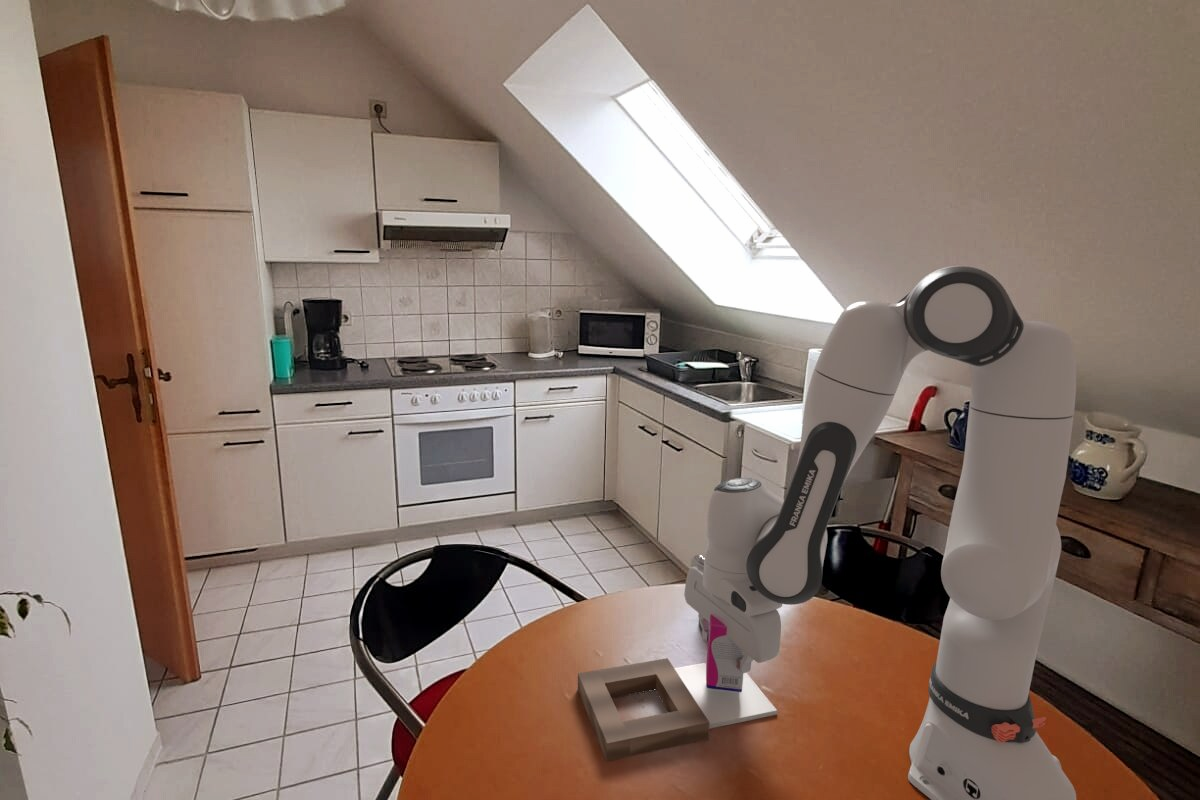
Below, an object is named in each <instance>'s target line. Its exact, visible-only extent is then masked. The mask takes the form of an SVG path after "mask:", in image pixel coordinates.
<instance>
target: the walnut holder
mask: <svg viewBox="0 0 1200 800" xmlns="http://www.w3.org/2000/svg"><path fill="white" fill-rule="evenodd" d="M674 668H675V667H674V666H673V664H672V663H671V661H670V660H669V658H668V657H667V658H661V659H655V660H649V661H642V662H638V663H632V664H627V665H626V664H625V665H619V666H614V667H608V668H601V669H597V670H590V671H584V672H578V673H577V691H578V694H579V697H580V698H581V701H582V703H583V707H584V708H585V711H586V713H587V716H588V719H589V720H590V723H591V726H592V729H593V730H594V734H595V736H596V738H597V741H598V744H599V746H600V749H601V751H602V754H603V757H604V759H605V760H606V762H610V761H614V760H619V759H624V758H627V757H628V758H629V757H633V756H637V755H641V754H646V753H647V754H648V753H652V752H657V751H662V750H666V749H671V748H674V747H675V748H676V747H680V746H684V745H688V744H693V743H699V742H703V741H708V740H709V735H710V734H709V732H710V729H709V721H708V719H707V718H706V716H705V715H704V713H703V712H702V710H701V709H700V707H699V706H698V704H697V702H696V701H695V699H694V698H693V696H692V695H691V693H690V692H689V690H688V689H687V687H686V686H685V684H684V683H683V681H682V680H681V678H680V676H679V675H678V673H677V672H676V670H675V669H674ZM654 689H656V690H654ZM649 690H652V691H655V692H656V691H657V692H656V694H657V696H658V697H659V696H660V697H659V699H660V698H661V699H660V700H661V702H662V704H663V706H664V705H665V706H664V707H665V709H666V710H667V712H666V713H660V714H655V715H650V716H645V717H639V718H634V719H629V720H625V721H623V719H622V717H621V715H620V713H619V711H618V709H617V707H616V705H615V702H614V700H613V699H614V698H618V697H624V696H630V695H629V694H631V695H635V693H636V694H640V693H639V692H642V693H646V692H645V691H647V692H650V691H649ZM643 691H644V692H643Z"/></svg>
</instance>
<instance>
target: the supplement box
mask: <svg viewBox="0 0 1200 800" xmlns="http://www.w3.org/2000/svg"><path fill="white" fill-rule="evenodd" d="M726 633H727V627H726V625H724V624H723V623H722V622H721V621H719V620H718V619H717V618H716V617H714V616H713V615H712V614H711V615H710V622H709V633H708V642H707V649H706V651H707V652H706V662H705V663H706V686H707V688H711V689H719V690H728V691H736V692H742V685H743V673H742V672H741V671H739V670H738V669H737V668H736V665H737V663H736V661H737V659H738V658H742V657H743V656H744V655H743V654H742V653H741V652H742V649H740V648H739V647H738V646H737V645H736V644H735V643H733V642H732V641H731V640H730V639H729V638H728V637H727V634H726Z"/></svg>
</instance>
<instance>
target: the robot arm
mask: <svg viewBox="0 0 1200 800" xmlns="http://www.w3.org/2000/svg"><path fill="white" fill-rule="evenodd" d="M1074 350H1075V349H1074V344H1073V340H1072V338H1071V336H1070V335H1069V334H1068V333H1067V332H1066V331H1065V330H1063V329H1062V328H1060V327H1058V326H1056V325H1053V324H1051V323H1048V322H1045V321H1038V320H1027V319H1025V320H1024V319H1022V318H1021V316H1020V314H1019V312H1018V311H1017V309H1016V308H1015V306H1014V304H1013V302H1012V300H1011V298H1010V296H1009V294H1008V292H1007V291H1006V289H1005V287H1004V286H1003V285H1002V284H1001V282H999V280H997V278H995V277H994V276H993V275H992V274H990V273H988V272H986V270H982V269H980V268H976V267H974V266H973V267H972V266H969V265H951V266H950V265H949V266H945V267H942V268H939V269H936V270H934V271H932V272H930V273H929V274H927V275H926V276H925V277H923V278H922V279H921V280H920V281H919V282H918V283H917V284H916V285H915V287H914V288H913V289H911V291H910V292H909V293H907V294H906V295H905V296H904V297H903V298H901V299H900V300H899V301H897V302H896V303H891V302H890V303H889V302H886V301H885V302H884V301H881V300H880V301H879V300H860V301H856V302H854V303H851V304H850V305H848V306H846V308H845V309H844V310H843V311H842V312H841V314H840V315H839V317H838V319H837V320H836V322H835V324H834V325H833V327H832V329H831V331H830V333H829V335H828V336H827V339H826V341H825V343H824V345H823V347H822V349H821V351H820V353H819V356H818V358H817V361H816V363H815V367H814V369H813V372H812V375H811V378H810V381H809V383H808V384H809V385H808V389H807V393H806V397H805V401H804V402H805V404H804V410H803V418H802V425H801V426H802V427H801V436H800V445H799V451H798V452H799V453H798V458H797V463H796V466H795V470H794V473H793V476H792V478H791V480H790V484H789V486H788V490H787V491H786V492H787V493H786V495H785V498H782V497H780V496H779V495H777V494H775V493H774V492H772V491H771V490H770V489H768V488H767V487H766V486H765V484H764V483H763V482H762V481H760V480H758V479H755V478H750V477H735V478H730V479H727V480H724V481H722V482H720V483H719V484H718V485H716V487H714V489H713V490H712V493H711V495H710V498H709V503H708V509H707V516H706V527H705V533H706V534H705V535H706V539H707V547H706V548H705V552H704V556H703V555H702V554H696V555H694V556H692V558H691V559H690V568H688V571H687V573H686V574H687V575H686V579H685V586H684V595H683V596H684V599H685V601H686V602H685V603H686V604H687V605H688V606H690V608H692V609H693V610H694V611H696V612H697V613H698V622H699V621H700V624H701V627H702V629H701V630H702V631H701V637H702V638H703V640H704V641H706V642H707V643H708V633H709V622H710V615H711V614H712V615H713V616H714V617H716V618H717V619H718V620H719V621H721V622H722V623H723V624H724V625H726V627H727V633H726V634H727V637H728V638H729V639H730V640H731V641H732V642H733V643H735V644H736V645H737V646H738V647H739V648H740V649H742V652H741V653H742V654H743V655H744V656H743V657H742V658H738V659H737V661H736V663H737V665H736V668H737V669H738V670H739V671H741V672H742V673H749V672H750V671H751V670H752V668H751V667H752V663H753V661H754V662H756V663H757V664H760V663H766V662H768V661H771V660H773V659H775V658H776V657H777V656H778V655H779V652H780V648H781V638H782V637H781V635H782V619H781V616H780V613H779V611H778V609H781V608H782V606H783V605H787V606H789V605H790V606H792V605H799V604H803V603H806V602H808V601H810V600H812V599H813V598H814V597H815V596H816V595H817V594H818V592H819V591H820V588H821V586H822V581H823V574H824V573H823V570H824V569H823V567H824V562H825V561H824V560H825V557H826V552H827V551H826V550H827V544H828V540H829V537H828V536H829V533H828V529H827V528H828V525H829V522H830V519H831V517H832V515H833V512H834V509H835V506H836V504H837V501H838V500H839V496H840V493H841V491H842V488H843V486H844V485H845V481H846V480H847V478H848V476H849V474H850V473H851V472H852V469H853V467H854V466H855V465H856V463H857V462H858V460H859V458H860V456H861V455H862V453H863V452H864V450H865V449H866V448H867V446H868V444H869V443H870V441H871V440H872V438H873V437H874V436H875V433H876V432H877V430H878V429H879V427H880V426H881V424H882V422H883V421H884V418H885V417H886V415H887V413H888V411H889V408H890V406H891V404H892V402H893V400H894V398H895V394H896V393H897V390H898V388H899V385H900V383H901V380H902V377H903V375H904V373H905V371H906V369H907V367H908V366H909V365H910V363H911V362H912V361H913V360H914V359H915V358H916V357H917V356H919V355H920V354H922V353H924V352H926V351H930V352H932V353H934V354H937V355H938V356H941V357H946V358H949V359H953V360H955V361H959V362H963V363H964V364H967V365H968V366H969V369H970V373H971V388H970V389H971V391H970V400H969V405H968V417H967V425H966V426H967V427H966V436H965V444H964V445H965V446H964V455H963V463H962V468H961V474H960V477H959V481H958V485H957V490H956V494H955V498H954V501H953V506H952V507H953V508H952V512H951V518H950V522H949V527H948V531H947V540H946V543H945V549H944V554H943V558H942V562H941V569H940V577H941V583H942V585H943V588H944V590H945V592H946V594H947V595H948V596H949V601H948V604H947V608H946V609H945V613H944V615H943V619H942V621H943V622H942V626H941V631H940V639H939V644H938V651H937V657H936V662H934V664H933V665H932V668H931V673H930V677H929V681H928V696H929V699H928V703H927V706H926V709H925V714H924V716H923V719H922V721H921V724H920V726H919V728H918V731H917V733H916V734H915V736H914V738H913V739H912V740H911V742H910V744H909V753H908V754H909V758H910V762H911V765H910V768H909V771H908V773H907V774H908V775H907V779H908V781H909V782H910V783H911V784H912V785H913V786H914V787H915V788H917V790H918V791H920V792H921V793H922V794H924V795H925V796H926V797H928V798H929V800H1077V793H1076V790H1075V788H1074V785H1073V784H1072V782H1071V781H1070V779H1069V778H1068V777H1067V774H1066V773H1065V772H1064V771H1063V769H1062V764H1061V762H1060V760H1059V758H1058V757H1057V756H1055V755H1053V754H1052V753H1051V751H1050V750H1049V749H1048V747H1047V746H1046V744H1045V742H1044V740H1043V739H1042V737H1040V734H1039V733H1038V732H1037V729H1038V728H1041V727H1043V726H1045V725H1046V722H1045V721H1046V720H1047V717H1046V716H1042V717H1038V718H1036V717H1035V714H1034V708H1033V705H1032V704H1033V703H1032V700H1031V696H1030V694H1029V693H1030V688H1031V683H1032V679H1033V673H1034V668H1035V664H1036V663H1035V662H1036V659H1037V658H1036V657H1037V653H1038V650H1039V644H1040V640H1041V636H1042V632H1043V628H1044V625H1045V620H1046V616H1047V612H1048V608H1049V605H1050V601H1051V597H1052V593H1053V588H1054V583H1055V580H1056V579H1055V578H1056V576H1057V570H1058V567H1059V566H1058V565H1059V561H1060V557H1061V554H1062V553H1061V552H1062V538H1061V535H1060V530H1059V528H1058V525H1057V521H1058V515H1059V510H1060V505H1061V501H1062V495H1063V491H1064V486H1065V482H1066V479H1067V469H1068V462H1069V456H1070V455H1069V454H1070V447H1071V440H1072V430H1073V425H1074V416H1075V409H1076V408H1075V407H1076V395H1077V368H1076V357H1075V355H1076V354H1075V351H1074ZM701 627H700V628H701Z"/></svg>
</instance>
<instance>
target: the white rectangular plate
mask: <svg viewBox="0 0 1200 800" xmlns="http://www.w3.org/2000/svg"><path fill="white" fill-rule="evenodd" d="M674 669H675V670H676V672H677V673H678V675H679V676H680V678H681V680H682V681H683V683H684V684H685V686H686V687H687V689H688V690H689V692H690V693H691V695H692V696H693V698H694V699H695V701H696V702H697V704H698V706H699V707H700V709H701V710H702V712H703V713H704V715H705V716H706V718H707V719H708V721H709V730H710V729H714V728H719V727H724V726H729V725H733V724H738V723H743V722H747V721H753V720H757V719H761V718H763V719H764V718H766V717H767V718H768V717H772V716H776V715H777V714H778V709H777V708H776V706H774V704H773V703H772V702H771V701H770V699H768V697H767V696H766V695H765V693H763V691H762V690H761V689H760V688H759V686H758V685H757V684H756V682H754V680H753V679H752V678H751V676H750V675H749V674H748V672H746V673H743V685H742V692H736V691H728V690H719V689H711V688H707V686H706V662H702V663H697V664H696V663H695V664H690V665H685V666H680V667H674Z"/></svg>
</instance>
